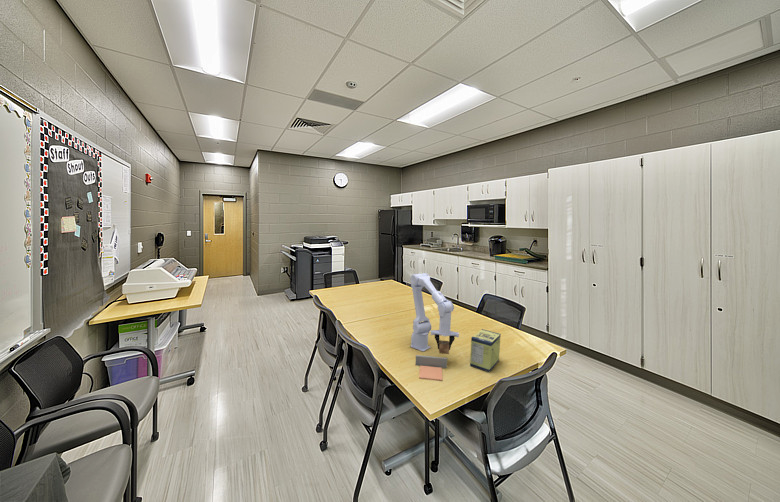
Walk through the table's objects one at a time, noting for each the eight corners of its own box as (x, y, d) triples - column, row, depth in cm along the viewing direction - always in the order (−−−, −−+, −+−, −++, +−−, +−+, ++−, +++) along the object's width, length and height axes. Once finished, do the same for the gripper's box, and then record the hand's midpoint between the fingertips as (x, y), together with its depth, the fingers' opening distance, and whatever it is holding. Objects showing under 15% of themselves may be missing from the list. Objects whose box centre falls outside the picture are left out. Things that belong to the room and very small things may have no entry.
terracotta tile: (419, 378, 134) (419, 377, 134) (420, 366, 145) (420, 365, 145) (442, 380, 133) (442, 379, 133) (441, 368, 144) (441, 367, 144)
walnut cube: (439, 353, 148) (439, 344, 147) (438, 349, 152) (439, 339, 152) (448, 354, 147) (449, 344, 146) (448, 349, 152) (448, 340, 151)
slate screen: (415, 365, 147) (415, 356, 146) (415, 364, 148) (415, 355, 147) (446, 368, 144) (447, 359, 144) (446, 367, 145) (447, 357, 145)
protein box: (499, 361, 153) (501, 333, 151) (489, 373, 141) (491, 343, 139) (480, 355, 159) (481, 328, 157) (469, 366, 147) (470, 337, 145)
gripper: (431, 325, 145) (430, 350, 147) (459, 328, 143) (458, 353, 145) (431, 320, 152) (430, 344, 154) (458, 322, 150) (457, 347, 151)
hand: (443, 348), depth 150 cm, fingers closed on walnut cube, 5 cm apart
